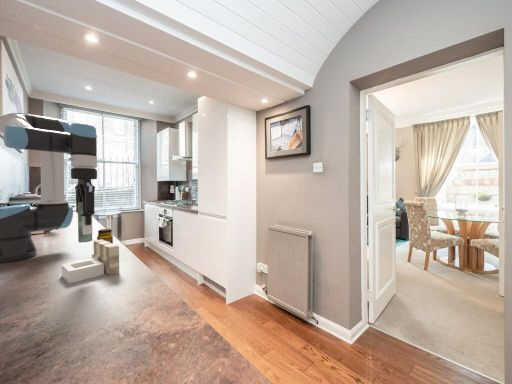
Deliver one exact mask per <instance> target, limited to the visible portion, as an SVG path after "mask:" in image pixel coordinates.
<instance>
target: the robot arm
mask: <svg viewBox="0 0 512 384" xmlns="http://www.w3.org/2000/svg"><path fill="white" fill-rule="evenodd" d="M0 132H1V133H2V134H3V137H2V138H3V145H4V146H5V148H9V149H16V150H26V151H27V150H28V151H39V153H40V200H38V201H37V202H36V206H32V205H31V204H30V203H24V204H15V205H9V206H8V205H7V206H1V207H0V263H8V262H15V261H20V260H25V259H29V258H32V257H35V256H36V255H37V254H38V250H37V249H38V248H37V247H36V245H35V242H34V241H33V239H32V233H34V232H42V231H43V232H45V231H50V230H60V229H66V228H68V227H70V225H71V223H72V221H73V218H74V210H73V209H74V208H73V206H72V205H71V204H69V200H66V198H65V154H67V155H70V157H68V161H70V167H72V168H71V169H70V178H71V179H72V180H77V184H76V186H75V187H74V190H75V209H76V210H75V212H76V213H77V214H78V202H82V204H83V214H82V215H81V216H82V230H83V235H87V234H92V235H93V216H94V214H95V191H96V186H95V185H94V184H92V180H97V179H98V170H97V169H96V168H98V155H97V154H98V153H97V152H98V148H97V147H98V146H97V145H98V144H97V143H98V141H97V138H98V135H97V134H98V133H97V128H96V127H95V126H94V125H92V124H89V123H84V122H83V123H82V122H73V123H71V124H70V123H69V122H68V121H66V120H63V119H60V118H56V117H55V118H54V117H49V116H43V115H37V114H32V113H31V114H30V113H25V112H14V113H7V114H4V115H2V116H0Z"/></svg>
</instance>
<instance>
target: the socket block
mask: <svg viewBox="0 0 512 384" xmlns="http://www.w3.org/2000/svg"><path fill="white" fill-rule="evenodd" d="M104 275H105V272H104V263H102V262H100V261H99V260H97V259H96V258H93V259H91V258H88V259H83V260H78V261H73V262H69V263H63V264H61V277H62V278H63V279H64V280H65V281H66V282H67V283H68V284H73V283H77V282H80V281H85V280H89V279H92V278H96V277H99V276H104Z"/></svg>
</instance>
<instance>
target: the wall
mask: <svg viewBox="0 0 512 384" xmlns="http://www.w3.org/2000/svg"><path fill="white" fill-rule="evenodd" d="M93 254H94V258H96V259H97V260H99V261H100V262H102V263H104V274H107V275H108V276H111V277H112V276H113V275H114V276H115V275H117V274H120V246H119V245H117V244H115V243H114V242H113V243H110V242H108V241H105V240H102V239H101V240H97V239H96V240H93Z"/></svg>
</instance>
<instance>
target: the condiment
mask: <svg viewBox="0 0 512 384" xmlns="http://www.w3.org/2000/svg"><path fill="white" fill-rule="evenodd" d="M97 232H98V233H97V236H96V240H101V239H102V240H105V241H108V242H110V243H113V244H114V242H113V241H114V240H113V239H114V235H113V231H112V229H111V228H102V229H98V231H97ZM93 258H94V253H93V254H91V258H90V259H93Z"/></svg>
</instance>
